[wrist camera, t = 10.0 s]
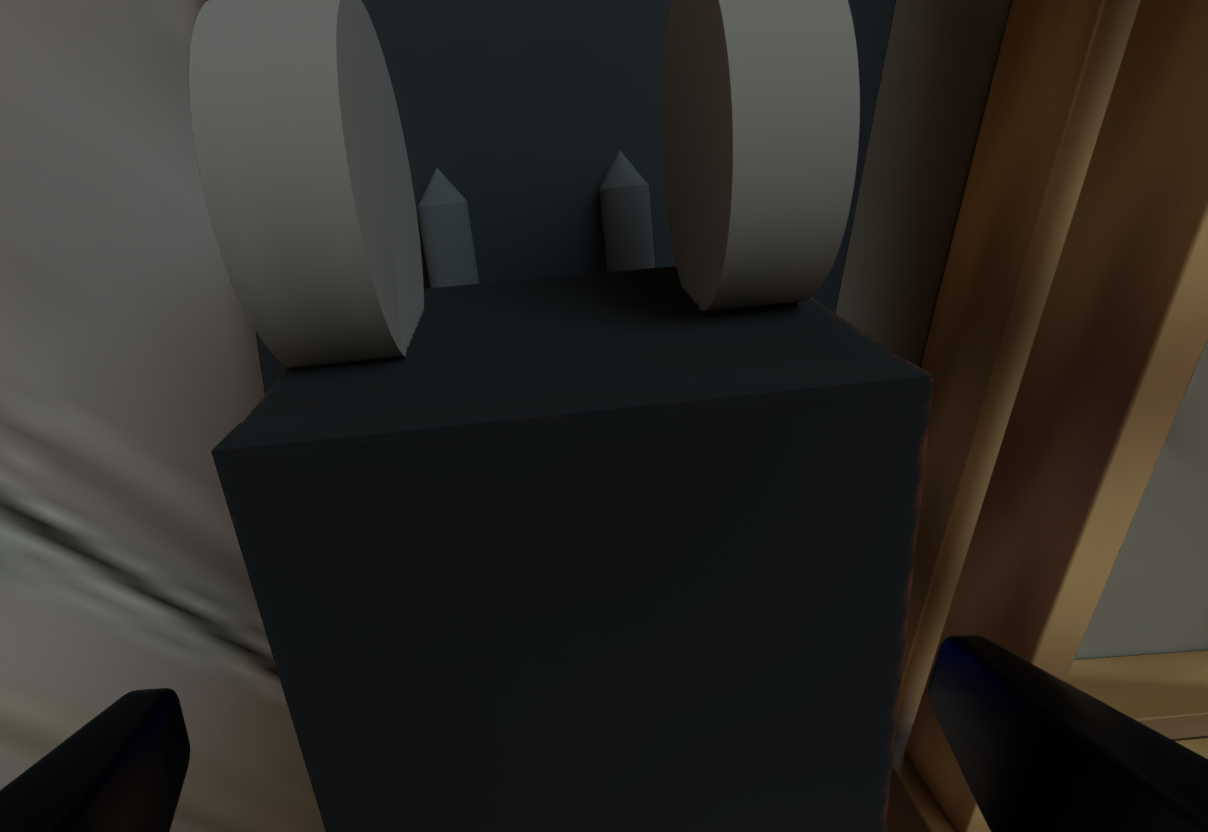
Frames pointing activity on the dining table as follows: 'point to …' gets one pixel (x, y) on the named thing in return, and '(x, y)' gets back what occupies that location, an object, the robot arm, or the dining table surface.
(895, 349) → the dining table surface
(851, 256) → the dining table surface
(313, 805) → the dining table surface
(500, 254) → the mat
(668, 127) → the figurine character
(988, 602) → the crate
